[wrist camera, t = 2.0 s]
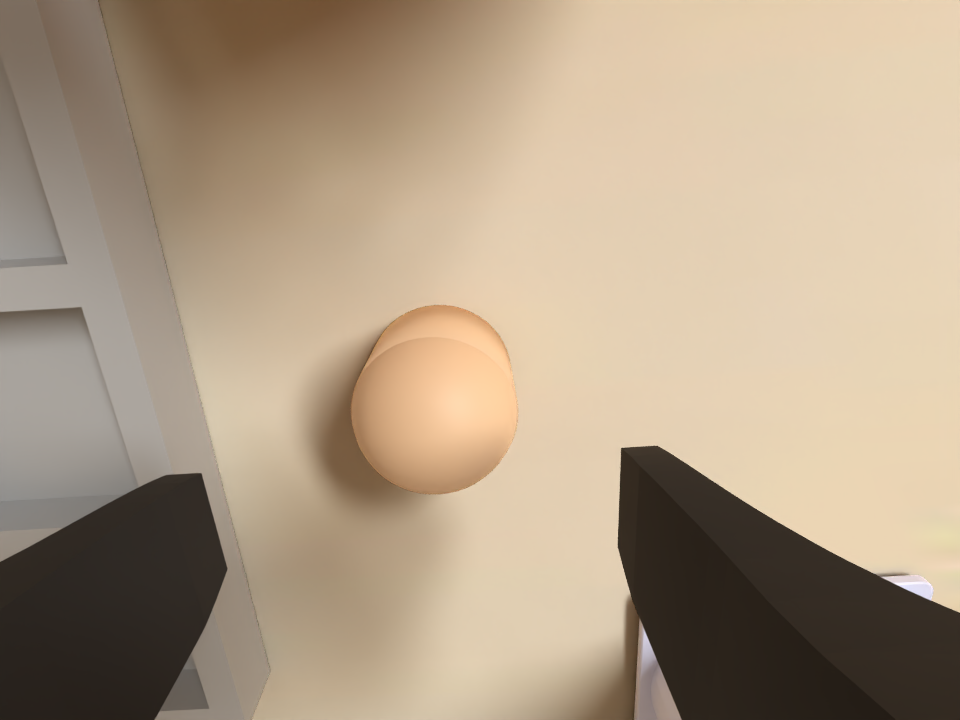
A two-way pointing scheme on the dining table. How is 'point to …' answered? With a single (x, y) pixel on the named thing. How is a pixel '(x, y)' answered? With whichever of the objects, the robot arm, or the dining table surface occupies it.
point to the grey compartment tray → (97, 330)
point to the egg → (435, 401)
